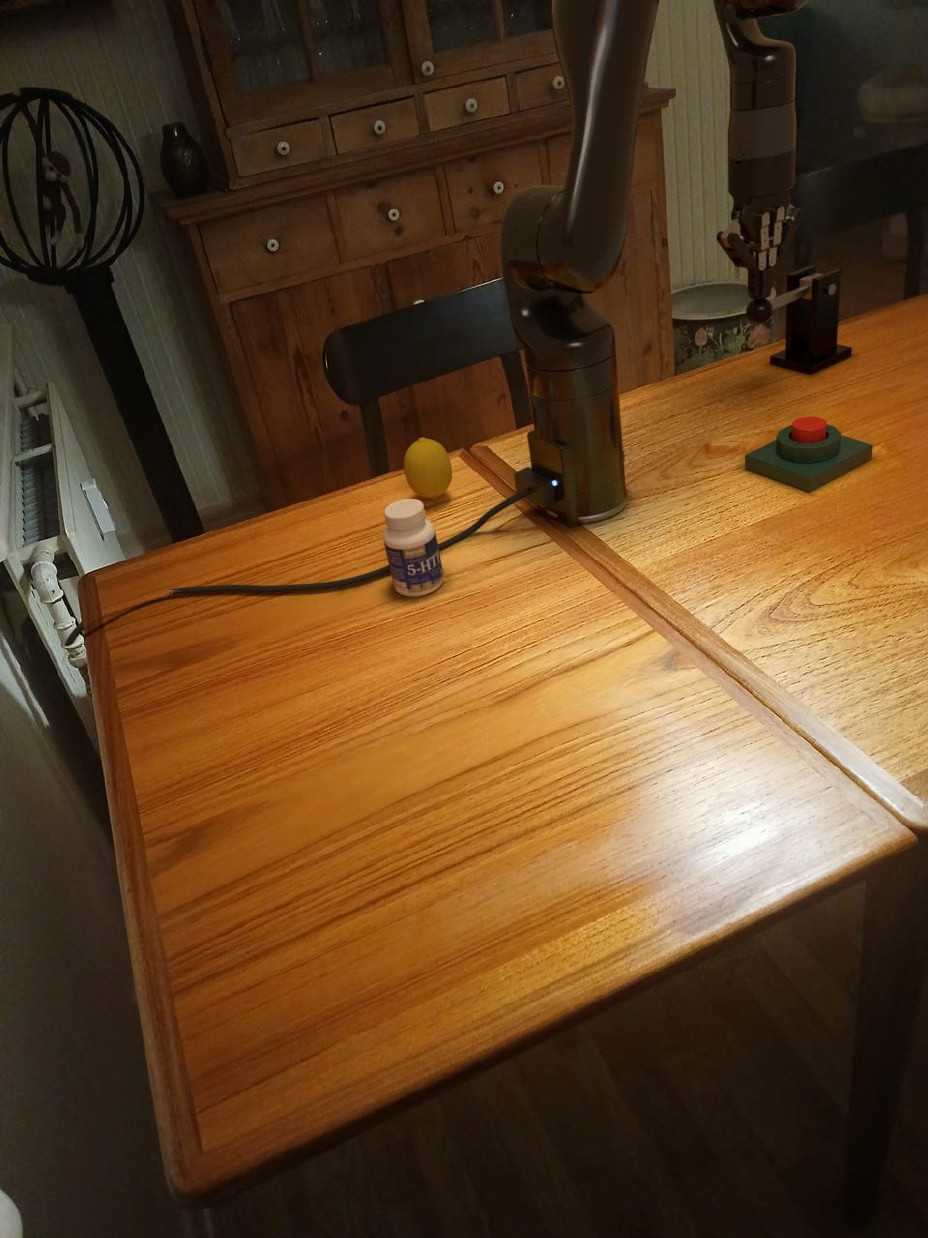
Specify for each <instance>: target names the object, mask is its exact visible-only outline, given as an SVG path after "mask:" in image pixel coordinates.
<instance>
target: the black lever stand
mask: <svg viewBox="0 0 928 1238" xmlns="http://www.w3.org/2000/svg"><path fill="white" fill-rule="evenodd" d="M813 273H817V266H816V265H808V266H805V267H803V268H800V269H797V270H795V271H793V272H791V273H788V274H787V275H786V293H787V292H789V291H791V290H793V289H796V288H798V287H800V279H802V278H804V277H806V276H808V275H811V274H813ZM822 274H823V275H820V276H818V277H815V278H813V279H812V294H811V299H805V298H799V299H797V300H795V301H792V302H790V303H788V304H786V305H785V307H786V308H785V310H786V311H785V342H784V349H783V350H781V351H777V352H776V353H774V354H772V355H770V356H769V365H771V366H775V367H779V368H781V369H782V368H783V369H787V370H791V371H794V372H798V373H802V374H806V375H814V374H816V373H818V372H820V371H823V370H824V369H827V368H829V367H832V366H833V365H835V364H837V363H839V362H841V361H844V360H846V359H849V358H850V357H852V353H853V352H852V351H853V347H852V346H848V345H842V344H839V343H838V332H839V316H840V315H839V314H840V302H841V301H840V299H841V281H842V270H841V269H838V268H837V269H833V270H830V271H828V272H825V273H822Z"/></svg>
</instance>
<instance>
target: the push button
mask: <svg viewBox="0 0 928 1238" xmlns="http://www.w3.org/2000/svg"><path fill="white" fill-rule="evenodd" d="M827 424H828V423H827V421H826V420H825V419H824V418H822V417H819V416H802V417H799V418H796V419H794V420H793V421H792V422H791V425H792V428H791V439H792V440H793V441H796V442H799V443H815V442H821V441H823V440H825V439H826V429H827Z"/></svg>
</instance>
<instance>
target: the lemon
mask: <svg viewBox="0 0 928 1238" xmlns="http://www.w3.org/2000/svg"><path fill="white" fill-rule="evenodd" d="M403 470H404V476H405V479H406V483H407V484H408V486H409V489H411V491H412V492H414V494H416V495H417V496H419V497H420V498H425V499H429V500H430V501H436V500H438V498H439V497H440V496H441V495H443V494H444V493H445V492H446V491H447V490H448V489H449V487H450V485H451V482H452V480H453V467H452V462H451V459H450V456H449V454H448V452H447V450H446V449H445V447H444V446H443V445H442V444H441V443H439V442H438V441H436V440H435V439H430V438H426V437H420V438H418V440H416V441H414V442H412V444H411V445H410V446H409V447H408V449H407V450H406V452H405V455H404V461H403Z"/></svg>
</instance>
